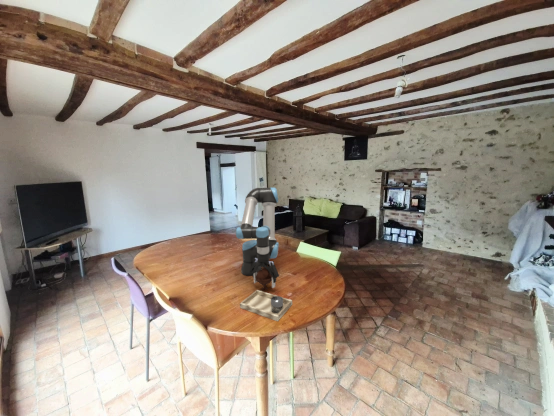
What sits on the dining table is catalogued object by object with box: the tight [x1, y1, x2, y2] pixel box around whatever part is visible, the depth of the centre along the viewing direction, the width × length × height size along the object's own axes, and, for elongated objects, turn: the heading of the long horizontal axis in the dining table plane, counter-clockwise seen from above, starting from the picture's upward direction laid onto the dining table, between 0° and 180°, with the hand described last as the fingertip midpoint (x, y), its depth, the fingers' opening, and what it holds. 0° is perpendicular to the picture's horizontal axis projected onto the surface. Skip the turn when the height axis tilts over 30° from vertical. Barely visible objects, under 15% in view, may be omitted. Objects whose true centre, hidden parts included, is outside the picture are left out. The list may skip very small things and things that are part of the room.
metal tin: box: [271, 295, 284, 313], centre depth 120 cm, size 6×6×6 cm
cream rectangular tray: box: [239, 289, 293, 322], centre depth 124 cm, size 24×16×4 cm, turn 60°
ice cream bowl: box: [256, 267, 272, 291], centre depth 141 cm, size 11×11×15 cm
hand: (264, 284), depth 142 cm, fingers open, 13 cm apart
